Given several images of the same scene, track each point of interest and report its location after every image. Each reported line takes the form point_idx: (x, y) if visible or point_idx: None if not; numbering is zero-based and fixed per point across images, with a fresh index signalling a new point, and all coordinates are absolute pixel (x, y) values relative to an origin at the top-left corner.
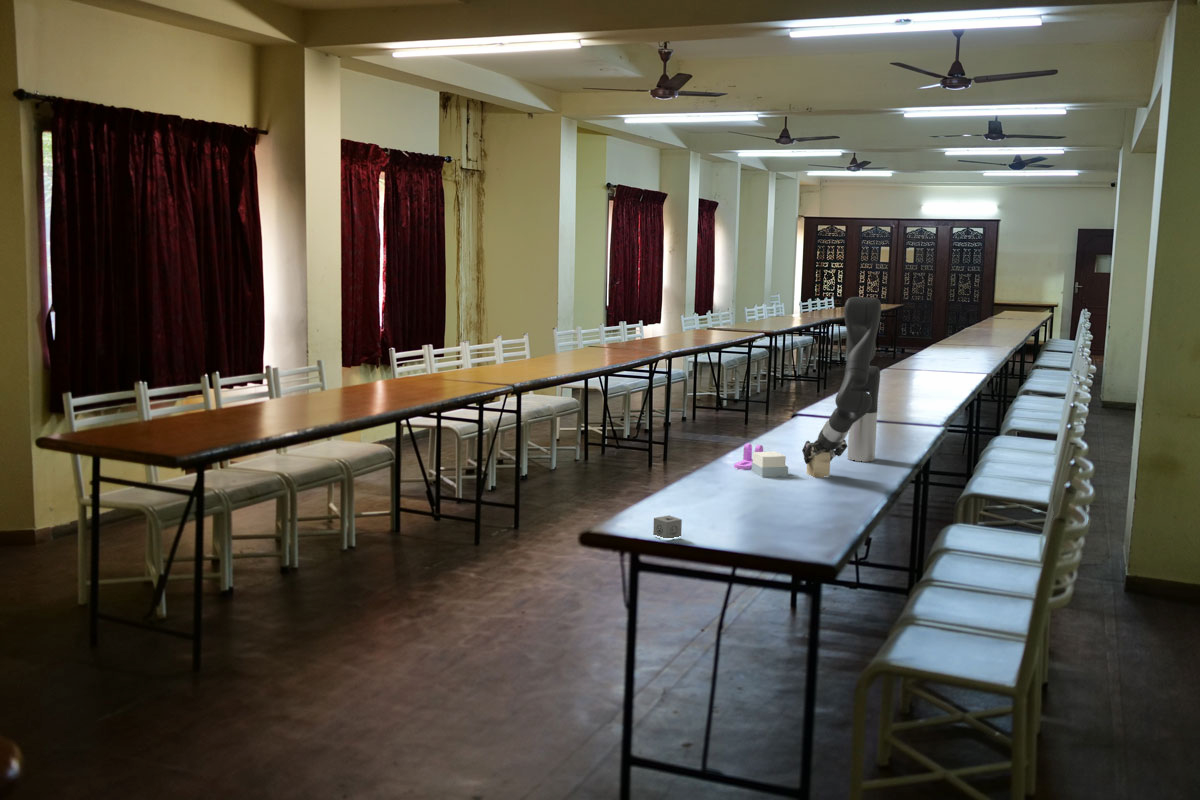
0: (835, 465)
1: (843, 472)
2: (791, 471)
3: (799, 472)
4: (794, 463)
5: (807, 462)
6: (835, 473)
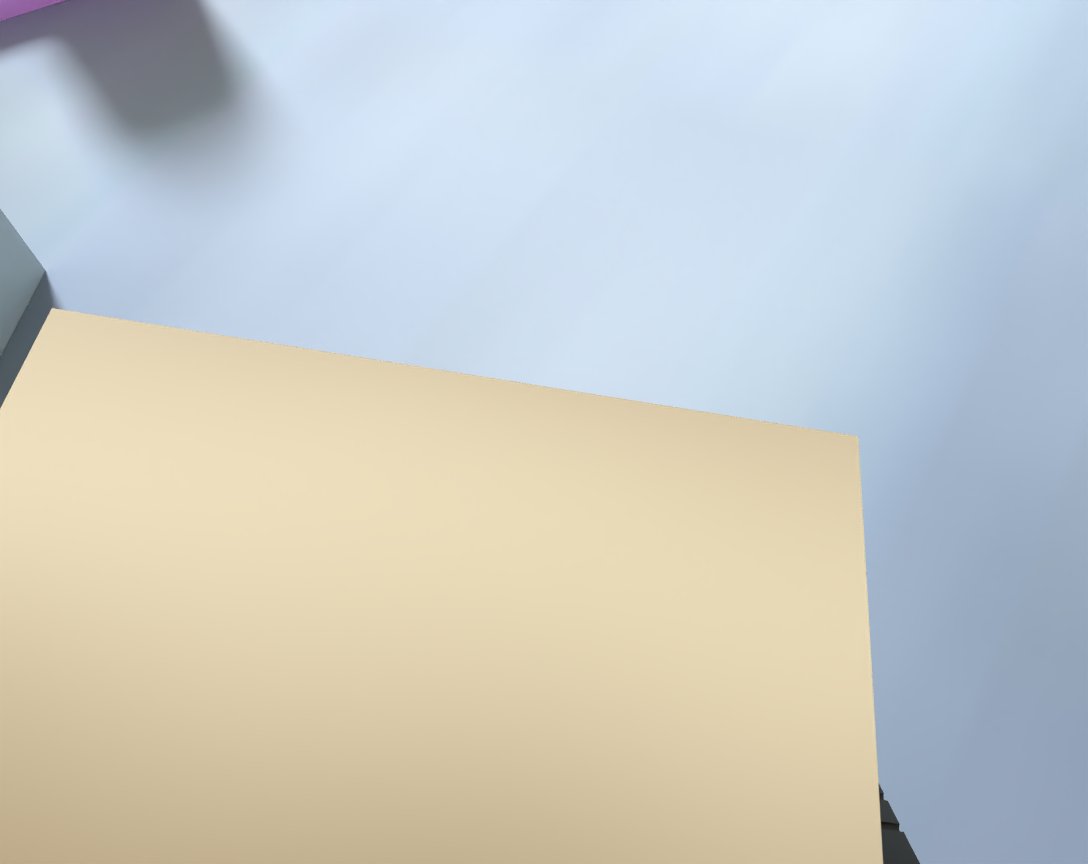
0: (1074, 278)
1: (1043, 736)
2: None
3: None
4: (588, 48)
5: None
6: None
